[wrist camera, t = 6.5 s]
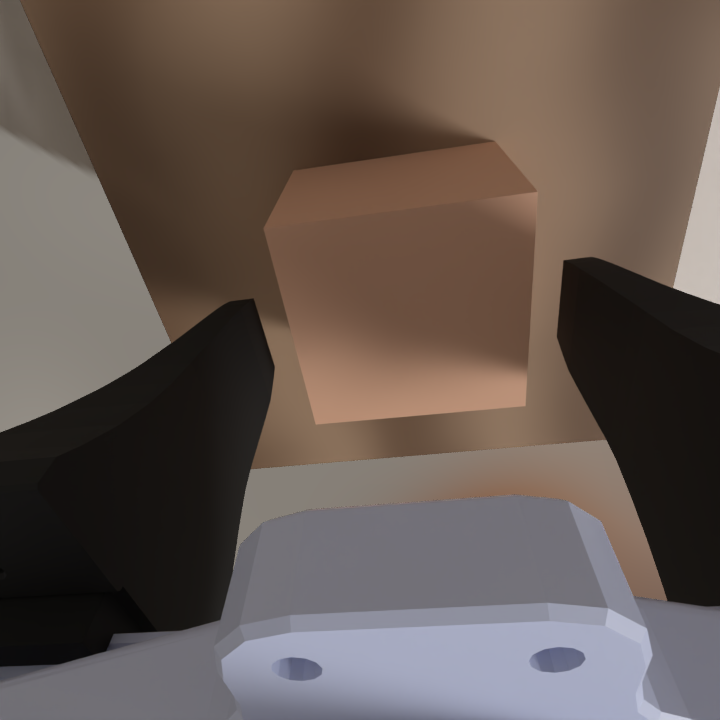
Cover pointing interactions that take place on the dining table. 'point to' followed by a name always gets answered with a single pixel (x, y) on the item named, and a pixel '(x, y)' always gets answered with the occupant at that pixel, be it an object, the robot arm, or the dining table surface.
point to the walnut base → (384, 139)
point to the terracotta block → (408, 282)
